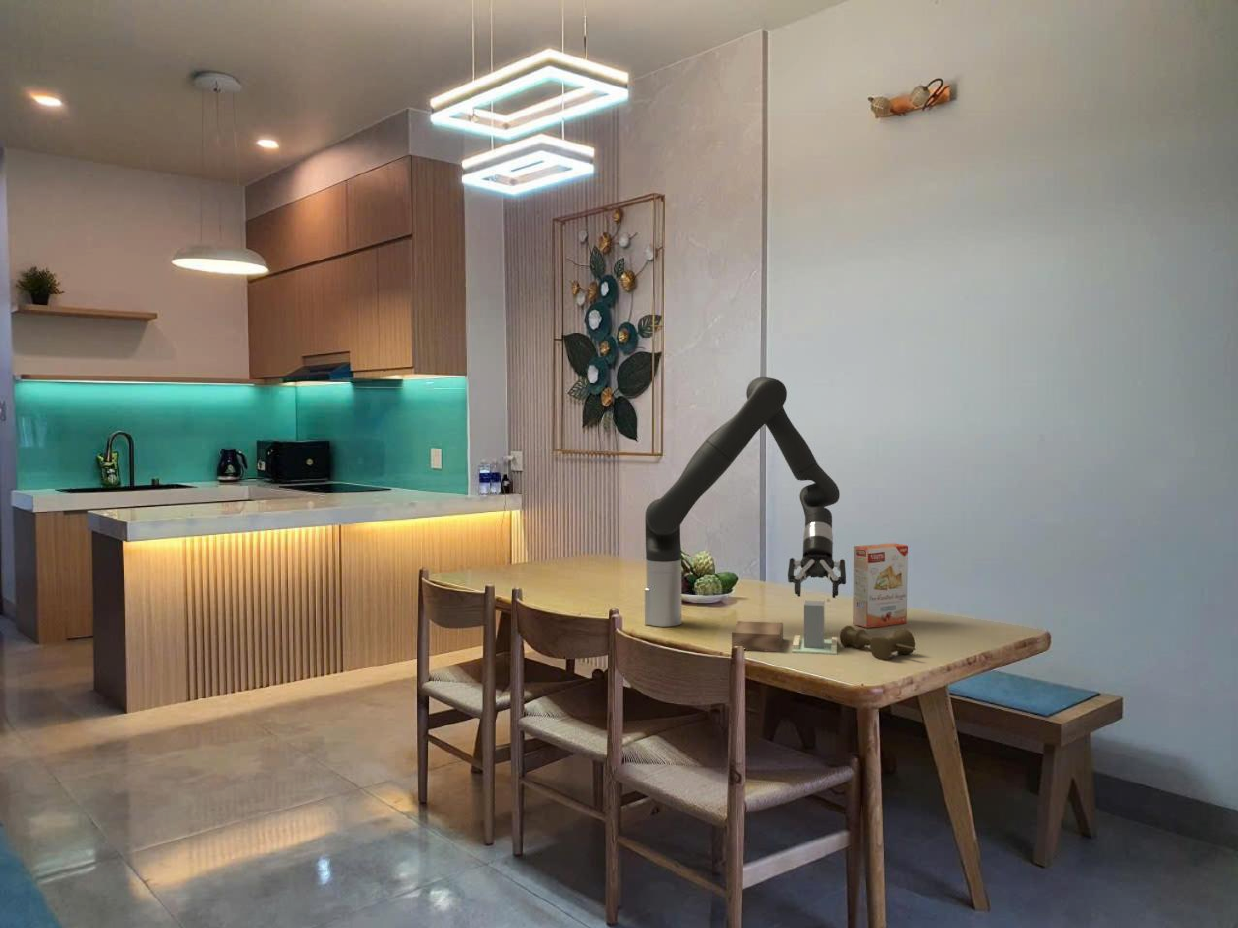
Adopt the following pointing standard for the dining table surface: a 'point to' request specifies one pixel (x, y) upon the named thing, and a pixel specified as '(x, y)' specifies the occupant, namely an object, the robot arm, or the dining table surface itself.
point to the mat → (829, 648)
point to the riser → (758, 635)
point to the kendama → (879, 642)
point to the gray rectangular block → (814, 624)
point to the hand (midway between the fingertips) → (816, 595)
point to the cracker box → (880, 585)
